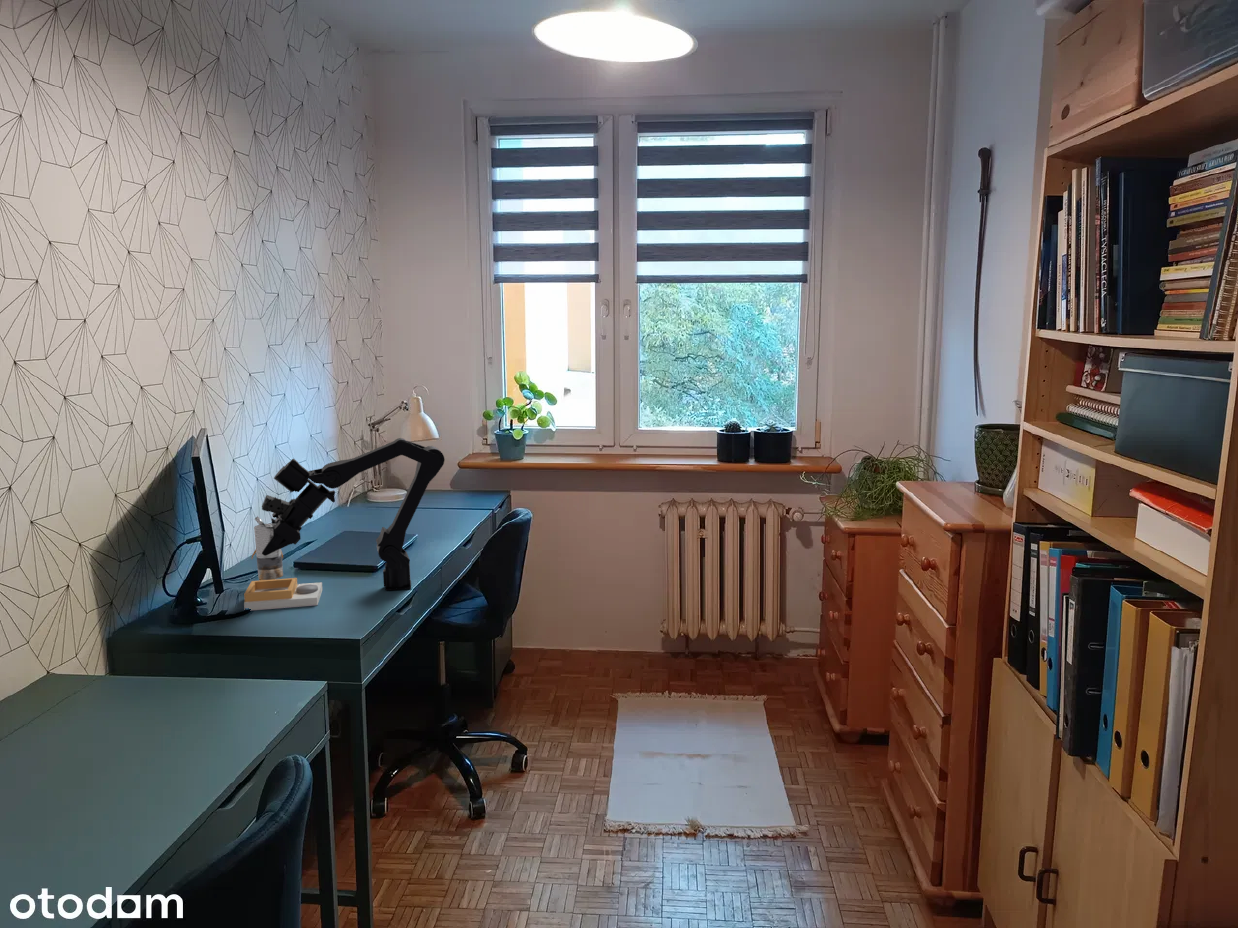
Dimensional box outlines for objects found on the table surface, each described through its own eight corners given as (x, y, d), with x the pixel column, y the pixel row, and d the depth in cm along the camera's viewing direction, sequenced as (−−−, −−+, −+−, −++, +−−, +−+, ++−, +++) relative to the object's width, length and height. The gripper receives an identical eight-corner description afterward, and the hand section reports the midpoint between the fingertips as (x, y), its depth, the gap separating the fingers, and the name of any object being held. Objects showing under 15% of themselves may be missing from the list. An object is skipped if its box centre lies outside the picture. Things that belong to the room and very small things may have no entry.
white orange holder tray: (322, 589, 234) (321, 574, 233) (317, 605, 221) (316, 589, 221) (253, 594, 230) (252, 579, 229) (244, 610, 217) (243, 595, 217)
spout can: (287, 573, 226) (282, 513, 224) (276, 580, 221) (271, 519, 218) (265, 572, 227) (260, 513, 224) (253, 579, 221) (248, 519, 219)
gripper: (278, 477, 230) (236, 523, 228) (282, 490, 213) (236, 540, 211) (312, 504, 234) (271, 550, 232) (318, 519, 217) (274, 568, 215)
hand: (262, 551), depth 222 cm, fingers closed on spout can, 6 cm apart
